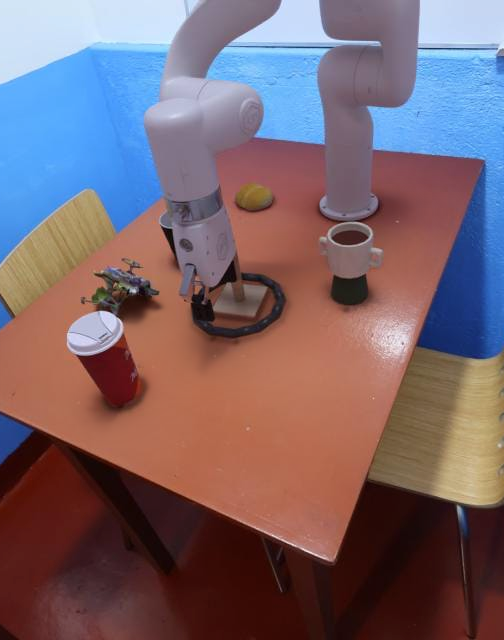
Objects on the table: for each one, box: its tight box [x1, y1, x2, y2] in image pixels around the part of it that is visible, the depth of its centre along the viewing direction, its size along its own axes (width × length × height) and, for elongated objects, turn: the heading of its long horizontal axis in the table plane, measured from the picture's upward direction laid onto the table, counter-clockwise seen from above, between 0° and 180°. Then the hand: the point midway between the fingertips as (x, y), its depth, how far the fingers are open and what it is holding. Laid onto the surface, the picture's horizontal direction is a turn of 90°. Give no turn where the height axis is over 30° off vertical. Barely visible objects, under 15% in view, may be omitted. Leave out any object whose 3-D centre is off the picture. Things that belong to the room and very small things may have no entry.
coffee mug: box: [158, 210, 179, 266], centre depth 94 cm, size 12×9×10 cm
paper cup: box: [66, 310, 143, 408], centre depth 68 cm, size 8×8×14 cm
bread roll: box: [234, 182, 274, 212], centre depth 109 cm, size 8×9×4 cm
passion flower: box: [80, 257, 160, 317], centre depth 85 cm, size 11×11×12 cm
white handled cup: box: [318, 221, 384, 306], centre depth 77 cm, size 11×7×13 cm, turn 58°
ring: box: [190, 271, 287, 339], centre depth 83 cm, size 17×17×2 cm
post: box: [213, 249, 269, 318], centre depth 80 cm, size 8×8×11 cm
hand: (217, 299), depth 74 cm, fingers open, 9 cm apart
